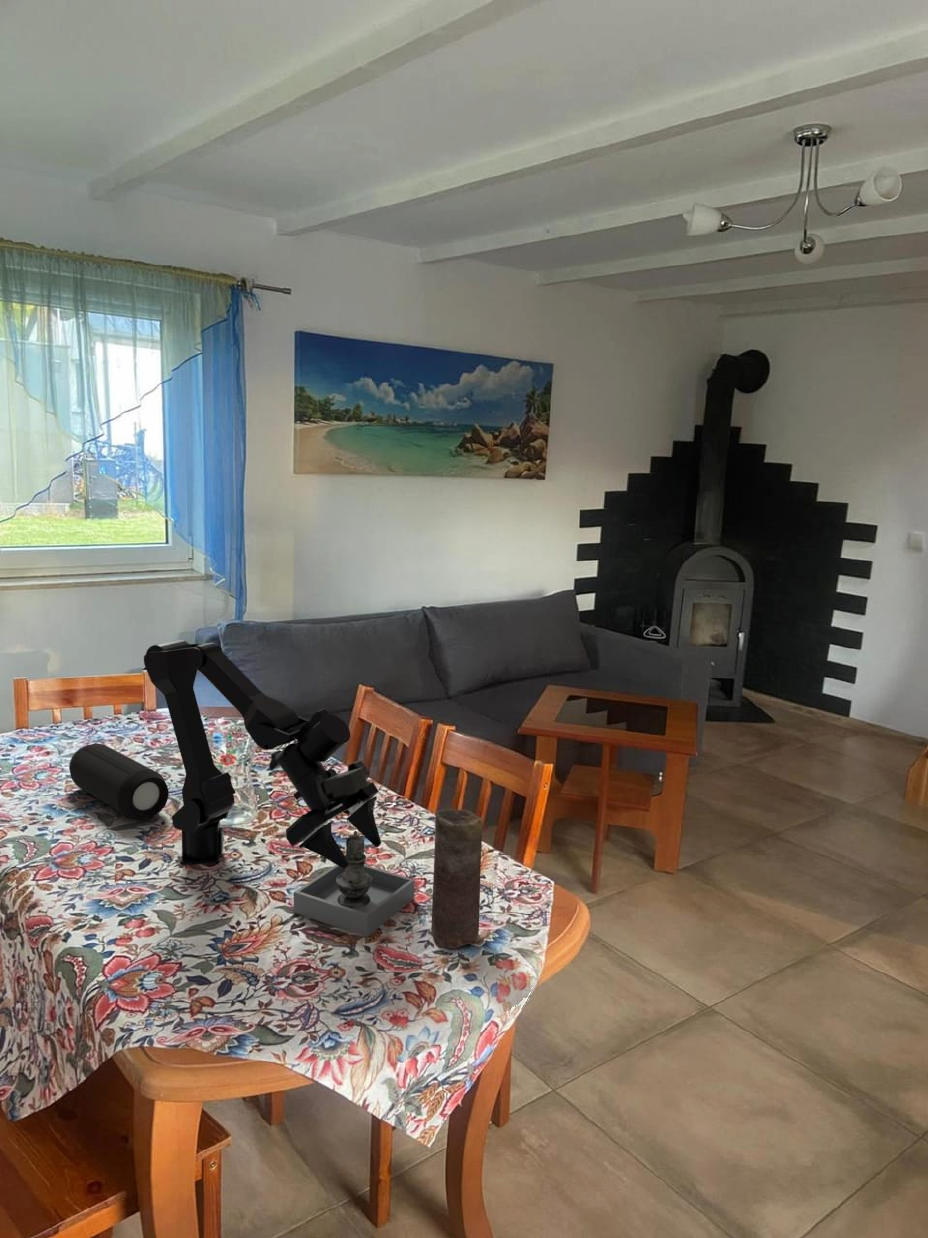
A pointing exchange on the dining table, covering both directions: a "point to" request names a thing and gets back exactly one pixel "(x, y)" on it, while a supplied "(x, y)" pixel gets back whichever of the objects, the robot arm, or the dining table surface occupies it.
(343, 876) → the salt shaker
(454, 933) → the candle
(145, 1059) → the dining table surface
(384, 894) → the tray
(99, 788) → the portable speaker
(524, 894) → the dining table surface
